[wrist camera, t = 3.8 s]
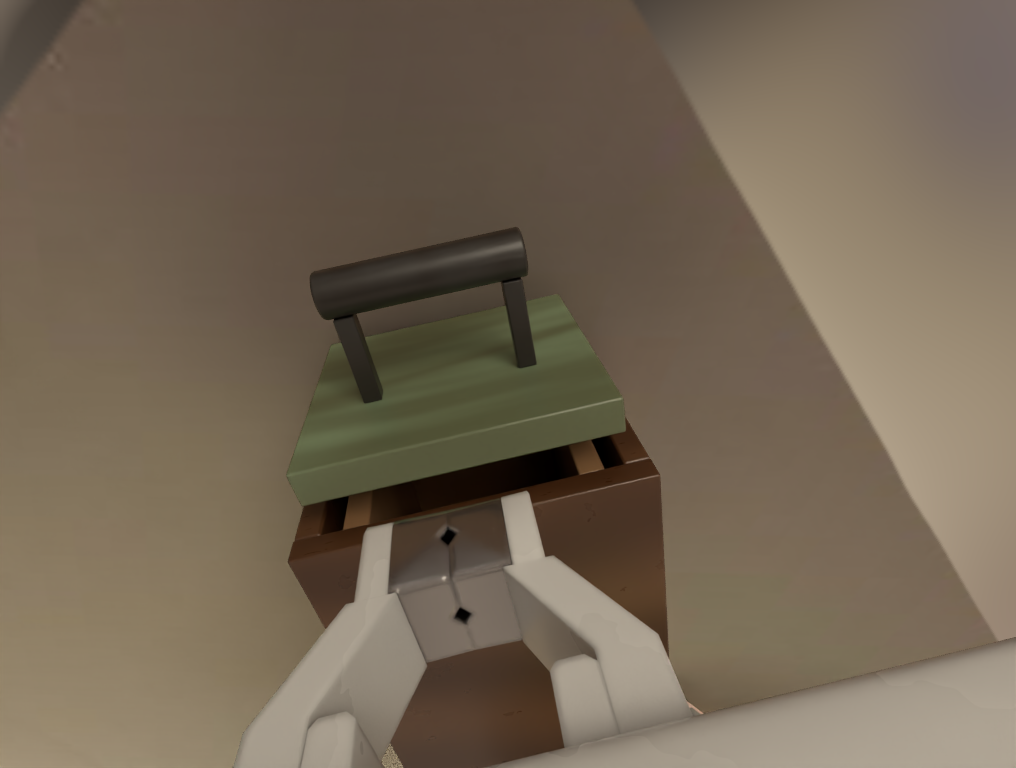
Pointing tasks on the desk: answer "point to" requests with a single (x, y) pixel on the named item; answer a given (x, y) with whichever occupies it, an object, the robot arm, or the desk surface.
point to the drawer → (448, 388)
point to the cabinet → (513, 666)
